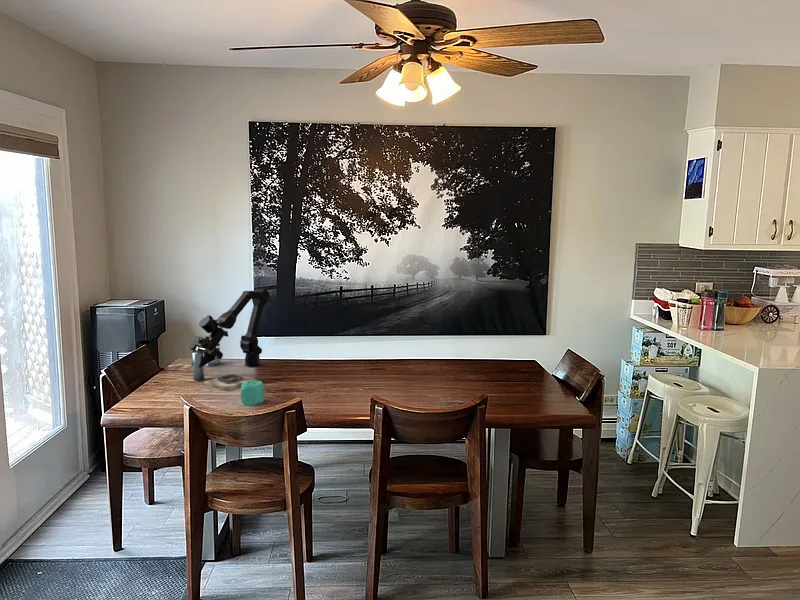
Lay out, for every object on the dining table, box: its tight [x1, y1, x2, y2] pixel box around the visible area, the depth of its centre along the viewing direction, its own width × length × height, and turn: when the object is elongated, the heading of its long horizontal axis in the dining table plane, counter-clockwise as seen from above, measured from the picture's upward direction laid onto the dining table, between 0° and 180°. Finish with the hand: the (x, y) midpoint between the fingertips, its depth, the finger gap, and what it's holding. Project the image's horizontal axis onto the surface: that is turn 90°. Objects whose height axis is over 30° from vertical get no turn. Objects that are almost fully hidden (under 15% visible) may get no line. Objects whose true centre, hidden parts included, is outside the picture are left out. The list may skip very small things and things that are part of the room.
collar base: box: [203, 373, 256, 392], centre depth 270 cm, size 16×16×3 cm
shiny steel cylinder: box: [191, 351, 205, 382], centre depth 276 cm, size 5×5×13 cm
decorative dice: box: [240, 380, 265, 406], centre depth 243 cm, size 8×8×8 cm
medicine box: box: [203, 346, 222, 367], centre depth 304 cm, size 8×4×9 cm, turn 143°
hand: (195, 366), depth 275 cm, fingers closed on shiny steel cylinder, 5 cm apart
